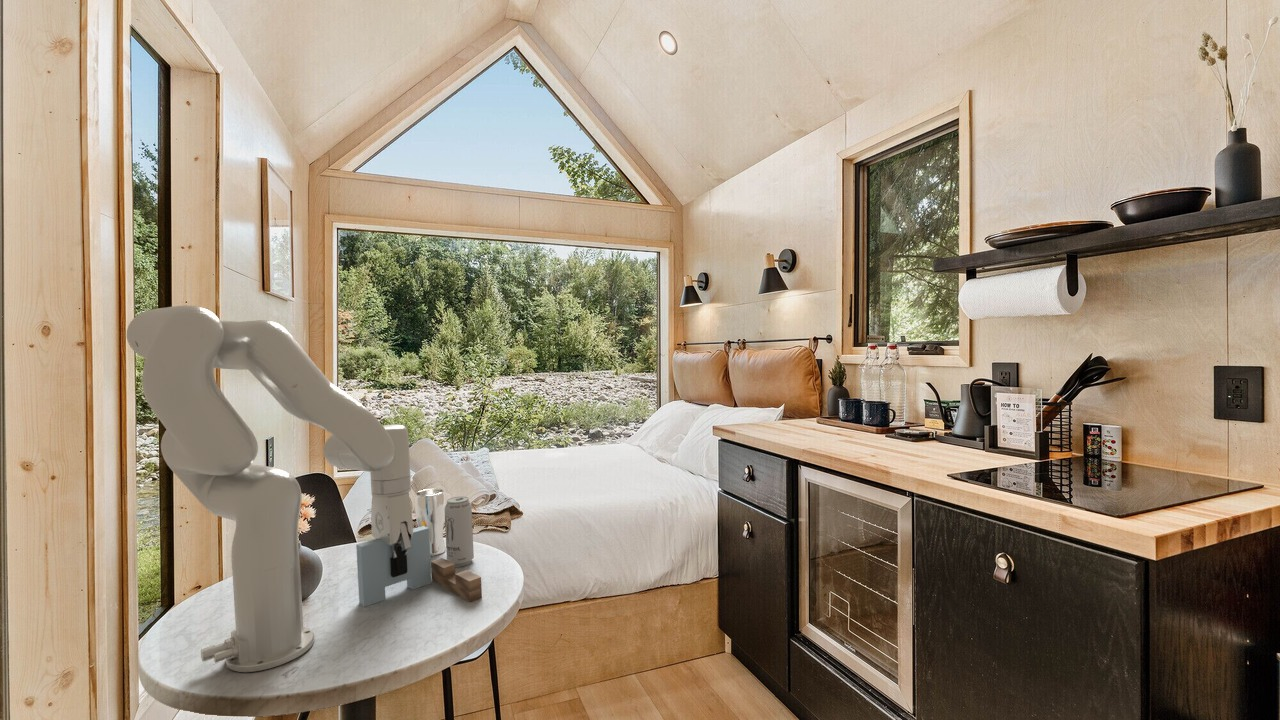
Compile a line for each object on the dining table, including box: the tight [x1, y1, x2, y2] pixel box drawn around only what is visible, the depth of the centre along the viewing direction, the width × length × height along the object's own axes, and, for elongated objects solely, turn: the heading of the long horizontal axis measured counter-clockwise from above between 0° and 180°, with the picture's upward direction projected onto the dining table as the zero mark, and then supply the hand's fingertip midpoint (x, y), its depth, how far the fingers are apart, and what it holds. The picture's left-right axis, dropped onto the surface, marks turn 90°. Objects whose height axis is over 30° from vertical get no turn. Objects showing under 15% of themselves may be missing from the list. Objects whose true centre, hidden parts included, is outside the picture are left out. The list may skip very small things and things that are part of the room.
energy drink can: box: [444, 496, 475, 568], centre depth 134 cm, size 6×6×15 cm
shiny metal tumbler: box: [414, 488, 446, 557], centre depth 141 cm, size 7×7×15 cm
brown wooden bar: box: [430, 557, 483, 603], centre depth 120 cm, size 16×3×4 cm, turn 47°
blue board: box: [355, 526, 432, 608], centre depth 119 cm, size 14×2×12 cm, turn 137°
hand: (395, 572), depth 119 cm, fingers open, 2 cm apart
